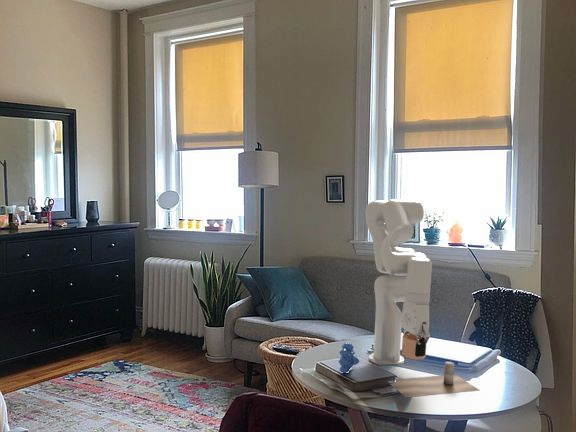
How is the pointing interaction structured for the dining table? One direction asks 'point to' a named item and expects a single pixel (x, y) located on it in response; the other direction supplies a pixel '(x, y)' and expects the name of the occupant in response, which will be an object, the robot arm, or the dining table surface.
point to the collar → (410, 346)
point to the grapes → (347, 358)
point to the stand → (433, 384)
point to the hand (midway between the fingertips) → (413, 351)
